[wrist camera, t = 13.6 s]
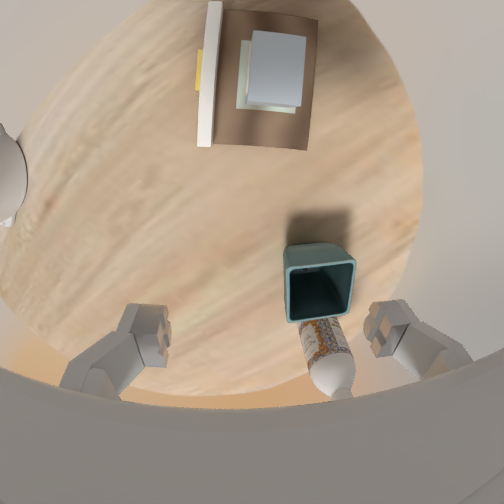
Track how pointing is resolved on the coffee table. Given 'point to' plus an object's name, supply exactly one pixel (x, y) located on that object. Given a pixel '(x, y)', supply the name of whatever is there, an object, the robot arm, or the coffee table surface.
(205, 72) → the price rail
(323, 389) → the bath foam
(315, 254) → the flower pot
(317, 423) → the robot arm
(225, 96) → the shelf board
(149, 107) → the coffee table surface
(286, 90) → the product carton
